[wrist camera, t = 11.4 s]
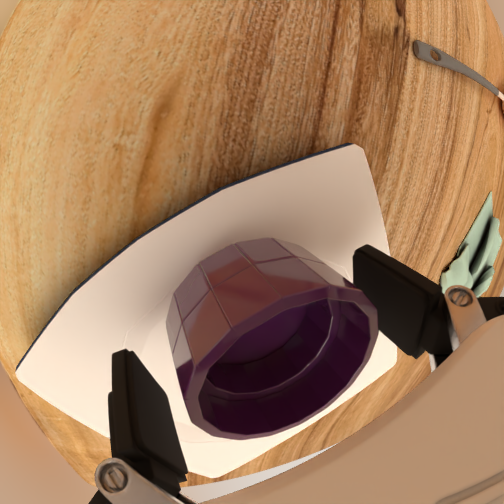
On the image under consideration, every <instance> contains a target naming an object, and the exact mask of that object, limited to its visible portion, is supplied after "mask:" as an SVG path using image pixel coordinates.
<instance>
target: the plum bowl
mask: <svg viewBox="0 0 504 504" xmlns="http://www.w3.org/2000/svg"><path fill="white" fill-rule="evenodd" d="M166 330H167V335H168V339H169V344H170V349H171V353H172V357H173V362H174V366H175V370H176V374H177V378H178V382H179V386H180V389H181V393H182V397H183V400H184V403H185V406H186V409H187V412H188V415H189V418H190V421H191V422H192V424H194V425H195V426H197V427H198V428H200V429H201V430H203V431H205V432H206V433H208V434H209V435H211V436H213V437H218V438H225V439H232V440H248V439H255V438H262V437H268V436H272V435H275V434H278V433H280V432H283V431H286V430H288V429H291V428H293V427H296V426H298V425H300V424H302V423H304V422H306V421H307V420H309V419H311V418H312V417H314V416H315V415H317V414H319V413H320V412H322V411H323V410H325V409H326V408H328V407H329V406H330V405H331V404H332V403H334V402H335V401H336V400H337V399H338V398H339V397H340V396H341V395H342V394H343V393H344V392H345V391H346V390H347V389H348V388H350V387H351V385H352V384H353V383H354V382H355V380H356V379H357V377H358V376H359V375H360V373H361V372H362V370H363V369H364V367H365V366H366V364H367V363H368V361H369V359H370V357H371V355H372V352H373V349H374V346H375V344H376V341H377V338H378V335H379V334H378V333H379V326H378V310H377V308H376V306H375V305H374V304H373V303H372V302H371V300H370V299H369V298H368V297H367V296H366V295H365V293H364V292H363V291H362V290H361V289H359V288H358V287H357V286H355V285H354V284H353V283H351V282H350V281H349V280H347V279H346V278H344V277H343V276H342V275H340V274H339V273H338V272H336V271H335V270H334V269H332V268H331V267H329V266H328V265H327V264H325V263H324V262H323V261H321V260H320V259H318V258H317V257H316V256H314V255H313V254H311V253H310V252H309V251H307V250H306V249H304V248H303V247H302V246H300V245H297V244H294V243H290V242H287V241H283V240H280V239H276V238H269V237H268V238H261V239H254V240H248V241H241V242H236V243H232V244H230V245H228V246H226V247H224V248H223V249H221V250H219V251H217V252H216V253H214V254H212V255H210V256H209V257H207V258H205V259H203V260H202V261H200V262H199V264H197V265H196V266H195V267H194V268H193V269H192V271H191V272H190V273H189V274H188V275H187V277H186V278H185V279H184V280H183V282H182V283H181V284H180V285H179V286H178V288H177V289H176V290H175V292H174V293H173V296H172V300H171V303H170V307H169V311H168V314H167V318H166Z"/></svg>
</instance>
